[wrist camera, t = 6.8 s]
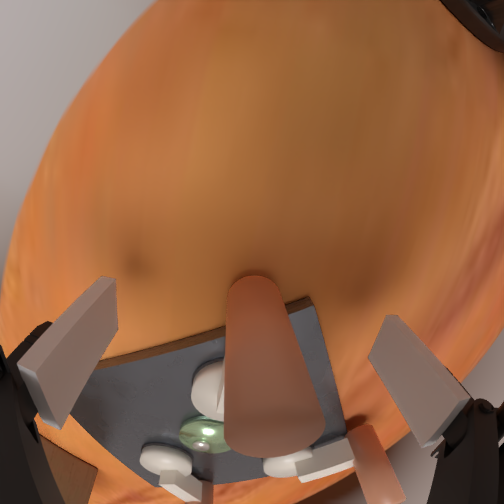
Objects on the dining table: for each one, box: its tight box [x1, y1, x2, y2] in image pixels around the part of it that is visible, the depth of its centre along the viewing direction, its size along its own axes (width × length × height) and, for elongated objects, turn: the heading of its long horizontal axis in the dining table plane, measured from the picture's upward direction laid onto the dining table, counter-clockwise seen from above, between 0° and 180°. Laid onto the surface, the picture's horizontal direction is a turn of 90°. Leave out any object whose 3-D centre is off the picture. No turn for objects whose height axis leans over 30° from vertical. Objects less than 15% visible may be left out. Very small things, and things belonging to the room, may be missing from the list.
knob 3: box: [263, 425, 406, 504], centre depth 16 cm, size 11×5×9 cm, turn 110°
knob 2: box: [191, 275, 326, 458], centre depth 12 cm, size 11×5×9 cm, turn 167°
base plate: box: [70, 297, 347, 487], centre depth 20 cm, size 24×20×2 cm
